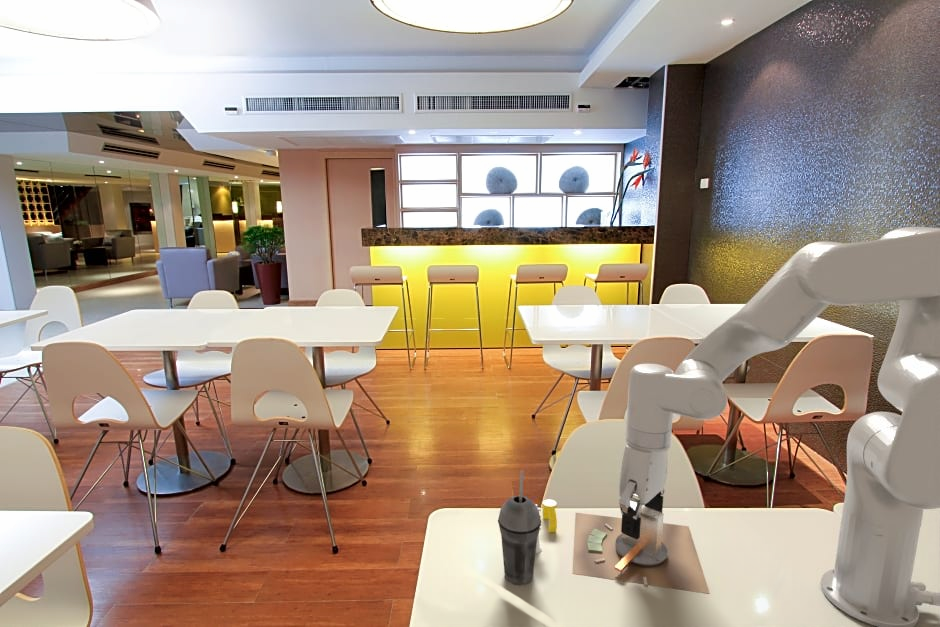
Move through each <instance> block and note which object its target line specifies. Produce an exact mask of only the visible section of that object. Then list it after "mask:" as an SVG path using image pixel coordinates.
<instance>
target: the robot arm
mask: <svg viewBox="0 0 940 627" xmlns="http://www.w3.org/2000/svg"><path fill="white" fill-rule="evenodd" d="M892 302H898V303H899V304H898V305H899V310H898V316H897V321H896V324H895V326H894V327H895V328H894V331H893V334H892V336H891V339H890V342H889V345H888V347H887V350H886V353H885V356H884V359H883V361H882V364H881V367H880V370H879V372H878V376H877V383H876V384H877V388H878V390H879V393H880V394H881V395H882V397H883V398H884V399H885V400H886V401H887V402H889V403H890V404H891V405H892V406H894V408H896V409H897V410H898V411H900V412H901V415H900V414H898V413H894V412H890V411H875V412H870V413H867V414H865V415H861V417H860V418H858V419H857V420H856V421H855V422H854V423H853V424H852V426H851V427H850V429H849V432H848V436H847V441H846V470H847V473H846V485H845V492H844V493H845V494H844V502H843V504H842V506H843V507H842V514H841V521H840V526H839V534H838V540H837V548H836V554H835V562H834V569H829V570H826V571H825V572H824V573H823V574H822V576H821V579H820V587H821V590H822V593H823V594H824V595H825V597H826V598H827V600H829V601H830V602H831V603H832V604H833V605H834V606H835V607H836V608H838V609H839V610H841V611H842V612H844V613H845V614H846V615H849V616H850V617H852V618H854V619H856V620H859V621H861V622H863V623H866V624H868V625H870V626H874V627H915V626H916V625H917V624H918V622H919V618H920V610H919V608H918V606H922V605H923V604H926V605H929V606H936V607H937V606H938V607H940V592H937V591H930V590H926V585H925V583H923V582H920V581H912V577H913V571H914V567H915V560H916V554H917V553H916V552H917V548H918V543H919V537H920V532H921V527H922V521H923V517H924V510H935V509H940V227H930V226H929V227H928V226H906V227H899V228H897V229H896V228H895V229H893V230H891V231H888V232H887V233H885V234H883V236H881V237H880V238H879V239H877V240H876V239H875V240H867V241H859V242H847V243H845V242H836V241H825V240H823V241H815V242H812V243H809V244H807V245H805V246H803V247H802V248H800V249H799V250H798V251H796V253H794V254H793V255H792V256H791V257H790V258H789V259H788V260H787V261H786V262H785V263H784V265H782V266H781V268H779V269H778V270H777V272H776V273H775V274H773V276H772V277H771V278H770V279H769V280H768V281H767V282H766V283H765V284H764V285H763V286H762V288H760V289H759V290H758V291H757V292H756V293H755V294H754V296H752V298H750V300H748V301H747V302H746V304H745V305H743V307H742V308H740V309H739V310H738V311H737V312H736V313H734V314H733V315H732V316H730V317H729V318H728V319H727V320H725V321H724V322H723V323H721V325H719V326H718V327H716V328H715V329H714V330H713V331H711V332H710V333H708V334H707V335H706V336H705V337H704V338H703V339H702V340H701V341H700V342H699V343H698V344H697V345H696V346H695V347H694V348H693V349H692V351H690V352H689V353H688V355H686V357H685V358H684V359H683V360H682V361H681V363H679V365H678V366H677V368H676V369H675V372H674V371H673V370H672V369H671V368H670V367H668V366H666V365H662V364H658V363H640V364H636V365H634V366H632V368H631V369H630V371H629V374H628V388H627V391H628V392H627V406H626V425H625V442H626V444H625V446H624V451H623V455H622V461H621V467H620V474H619V475H620V476H619V484H618V486H619V487H618V495H619V500H618V504H619V508H620V512H621V518H622V525H621V532H622V533H623V534H625V535H628V536H630V537H632V538H634V539H639V538H640V525H641V518H640V517H639V514H640V511H641V508H642V505H643V506H645V507H648V508H651V509H653V510H656V511H658V512H661V513H663V507H664V506H663V505H664V495H665V488H664V487H665V485H666V482H667V478H668V477H667V476H668V461H669V460H668V456H669V452H668V450H669V449H670V448H671V443H672V429H673V428H672V427H673V417H674V416H673V415H674V414H675V415H680V416H683V417H686V418H691V419H694V420H701V421H704V420H705V421H708V420H712V419H716V418H718V417H720V416H721V415H722V414H723V413H724V411H725V410H726V408H727V405H728V394H727V390H726V389H725V386H724V385H723V384H724V383H723V382H724V381H725V380H726V379H727V378H728V377H729V376H730V375H731V374H732V373H733V372H734V371H735V370H736V369H737V368H738V367H740V366H741V365H742V364H743V363H745V362H746V361H748V360H749V359H751V358H752V357H755V356H757V355H760V354H763V353H767V352H773V351H777V350H779V349H782V348H785V347H786V346H788V345H789V344H791V343H792V342H793V340H795V339H796V337H798V336H799V335H800V334H801V332H803V331H804V330H805V329H806V328H807V327H808V326H809V325H810V324H811V323H812V322H813V321H814V320H815V319H816V318H817V317H818V316H820V315H821V314H822V312H823V311H825V310H826V309H827V308H829V306H830V305H832V306H840V307H841V306H844V307H846V306H863V305H873V304H885V303H892ZM634 496H637V498H635V497H634ZM630 501H631V502H634V503H636V504H637V506H636V509H635V510H634V509H633V508H632V507H630Z"/></svg>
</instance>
